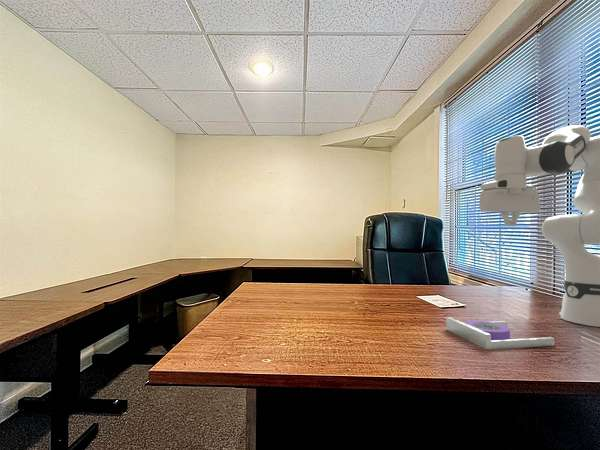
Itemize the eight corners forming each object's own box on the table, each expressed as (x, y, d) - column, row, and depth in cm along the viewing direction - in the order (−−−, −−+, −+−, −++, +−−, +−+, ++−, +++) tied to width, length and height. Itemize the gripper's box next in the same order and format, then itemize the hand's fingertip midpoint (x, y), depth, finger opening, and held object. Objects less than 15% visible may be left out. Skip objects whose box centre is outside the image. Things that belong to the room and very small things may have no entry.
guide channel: (504, 326, 103) (504, 315, 103) (554, 345, 86) (554, 331, 86) (446, 329, 99) (446, 317, 99) (486, 349, 82) (486, 334, 83)
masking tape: (456, 333, 96) (455, 321, 96) (484, 330, 99) (484, 318, 99) (488, 347, 85) (488, 333, 85) (519, 343, 88) (519, 330, 88)
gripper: (528, 187, 106) (528, 226, 106) (476, 185, 103) (476, 225, 103) (545, 184, 100) (546, 226, 100) (490, 182, 97) (490, 225, 96)
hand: (510, 226), depth 101 cm, fingers closed
